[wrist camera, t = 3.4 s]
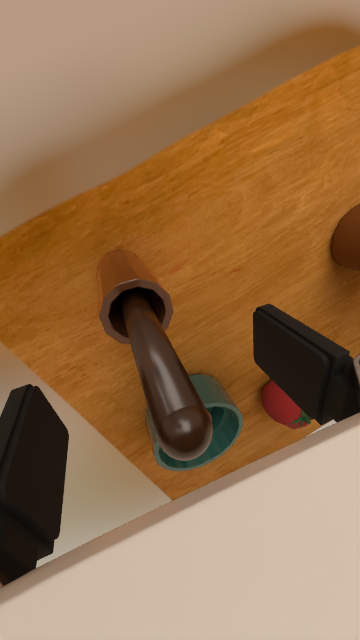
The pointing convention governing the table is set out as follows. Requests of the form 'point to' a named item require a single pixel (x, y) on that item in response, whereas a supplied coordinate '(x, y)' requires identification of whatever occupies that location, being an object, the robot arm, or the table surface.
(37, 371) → the table surface
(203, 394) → the bowl
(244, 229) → the table surface
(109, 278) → the crock
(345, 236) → the mug
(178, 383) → the stick
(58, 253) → the table surface
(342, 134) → the table surface
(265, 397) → the tomato
